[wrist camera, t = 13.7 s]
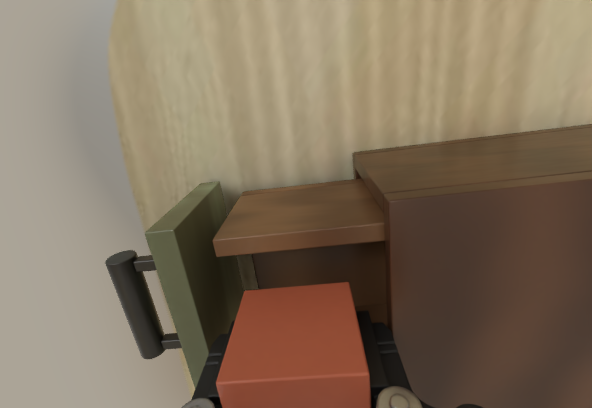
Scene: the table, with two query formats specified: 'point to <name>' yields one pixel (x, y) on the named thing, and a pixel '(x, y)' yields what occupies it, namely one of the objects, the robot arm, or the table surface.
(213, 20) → the table surface
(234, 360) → the block
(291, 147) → the table surface
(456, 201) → the cabinet
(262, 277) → the drawer
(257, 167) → the table surface
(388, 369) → the robot arm
